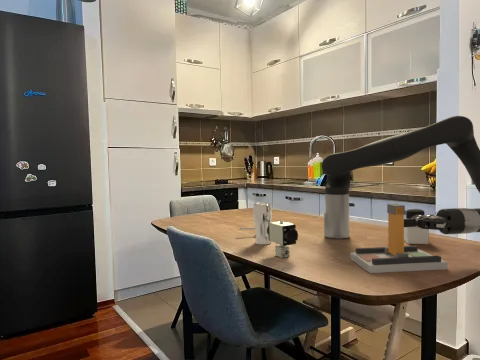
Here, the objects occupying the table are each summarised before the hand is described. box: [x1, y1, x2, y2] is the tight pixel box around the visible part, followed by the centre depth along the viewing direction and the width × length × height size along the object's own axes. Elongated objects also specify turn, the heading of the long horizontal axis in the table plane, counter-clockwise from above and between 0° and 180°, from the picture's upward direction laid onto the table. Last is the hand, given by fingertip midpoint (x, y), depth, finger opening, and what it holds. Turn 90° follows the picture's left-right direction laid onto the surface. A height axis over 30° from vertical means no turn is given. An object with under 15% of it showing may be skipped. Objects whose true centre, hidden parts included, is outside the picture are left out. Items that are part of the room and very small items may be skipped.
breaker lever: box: [386, 203, 406, 256], centre depth 103 cm, size 3×5×15 cm, turn 3°
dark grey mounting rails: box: [355, 245, 442, 265], centre depth 103 cm, size 19×13×1 cm
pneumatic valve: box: [267, 219, 299, 259], centre depth 115 cm, size 6×12×12 cm, turn 28°
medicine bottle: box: [404, 208, 430, 245], centre depth 128 cm, size 7×7×12 cm
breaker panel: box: [350, 246, 449, 274], centre depth 103 cm, size 22×14×4 cm, turn 93°
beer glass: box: [252, 202, 273, 246], centre depth 134 cm, size 7×7×15 cm
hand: (401, 223), depth 103 cm, fingers closed
